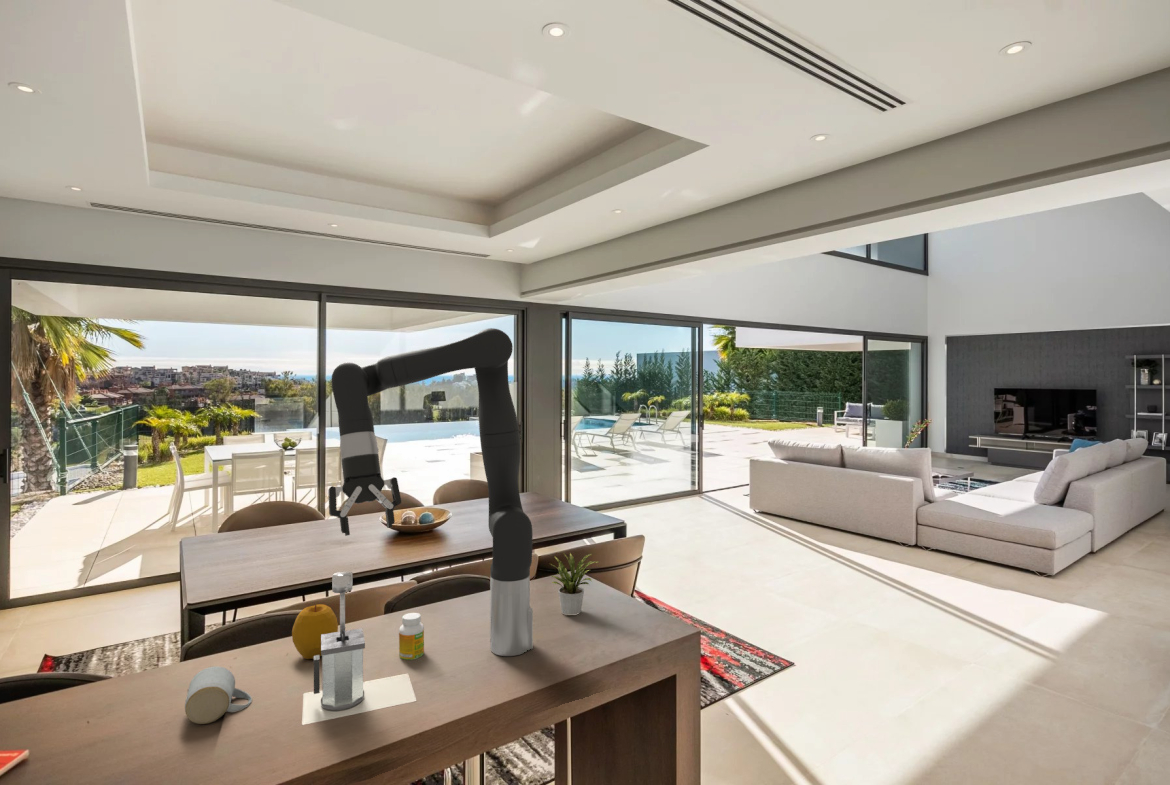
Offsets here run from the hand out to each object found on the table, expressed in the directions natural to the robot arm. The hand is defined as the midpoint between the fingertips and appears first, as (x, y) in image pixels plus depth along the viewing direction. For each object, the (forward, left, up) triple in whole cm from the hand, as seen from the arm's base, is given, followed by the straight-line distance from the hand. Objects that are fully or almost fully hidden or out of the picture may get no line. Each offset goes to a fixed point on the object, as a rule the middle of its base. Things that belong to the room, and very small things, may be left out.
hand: (368, 531), depth 125 cm
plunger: (+5, +9, -20) cm, 23 cm away
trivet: (+2, +9, -31) cm, 33 cm away
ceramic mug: (+27, +2, -31) cm, 42 cm away
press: (+5, +9, -30) cm, 32 cm away
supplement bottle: (-10, -6, -31) cm, 33 cm away
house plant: (-55, -16, -31) cm, 65 cm away
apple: (+10, -16, -31) cm, 37 cm away
